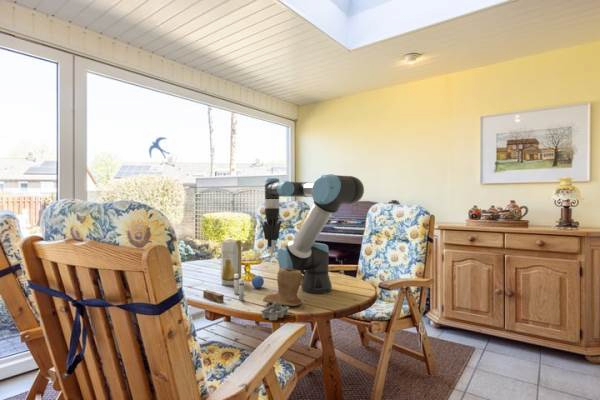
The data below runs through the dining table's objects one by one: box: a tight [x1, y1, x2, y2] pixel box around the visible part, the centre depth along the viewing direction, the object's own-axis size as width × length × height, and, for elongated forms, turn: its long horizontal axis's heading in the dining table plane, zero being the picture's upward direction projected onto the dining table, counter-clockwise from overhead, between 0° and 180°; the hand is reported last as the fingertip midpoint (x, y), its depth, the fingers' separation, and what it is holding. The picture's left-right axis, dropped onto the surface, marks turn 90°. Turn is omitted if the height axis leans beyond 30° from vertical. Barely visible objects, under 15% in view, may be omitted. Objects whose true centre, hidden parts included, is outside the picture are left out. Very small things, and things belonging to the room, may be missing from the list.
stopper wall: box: [202, 289, 225, 304], centre depth 146 cm, size 12×2×3 cm, turn 50°
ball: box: [251, 275, 265, 289], centre depth 166 cm, size 6×6×6 cm
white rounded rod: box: [238, 278, 245, 302], centre depth 145 cm, size 2×2×9 cm
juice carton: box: [220, 237, 242, 286], centre depth 173 cm, size 9×8×24 cm
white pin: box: [233, 274, 239, 295], centre depth 155 cm, size 2×2×9 cm
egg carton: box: [260, 301, 291, 321], centre depth 127 cm, size 11×8×4 cm
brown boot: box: [262, 268, 303, 307], centre depth 141 cm, size 15×12×15 cm
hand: (271, 252), depth 174 cm, fingers closed
